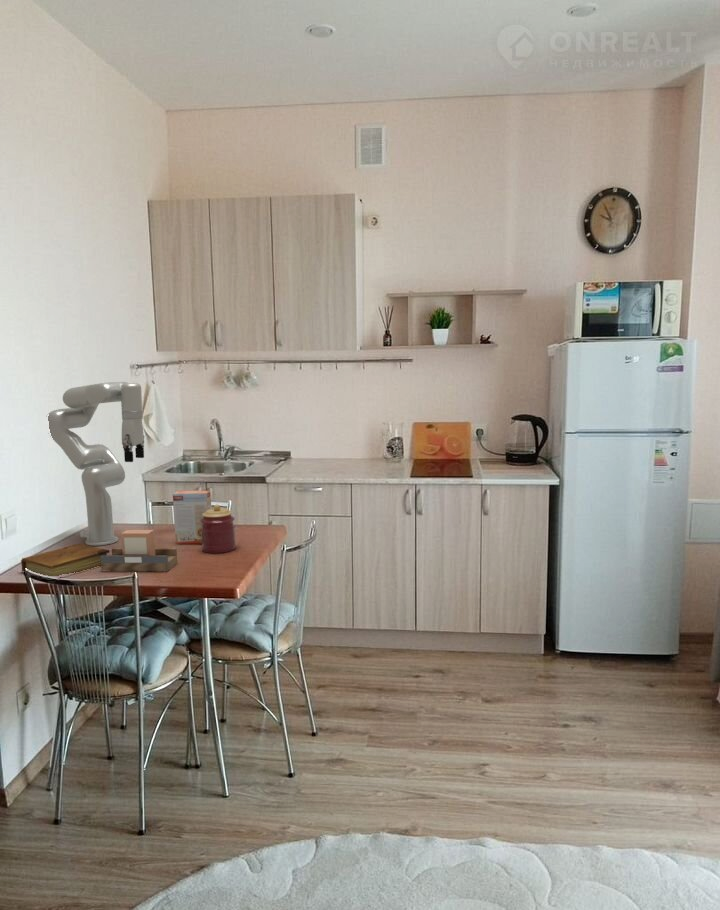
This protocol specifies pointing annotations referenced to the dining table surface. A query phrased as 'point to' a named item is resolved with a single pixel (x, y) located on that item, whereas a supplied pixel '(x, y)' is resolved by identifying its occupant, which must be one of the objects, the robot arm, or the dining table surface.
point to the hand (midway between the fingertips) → (134, 459)
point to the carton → (138, 542)
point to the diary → (65, 560)
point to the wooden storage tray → (140, 561)
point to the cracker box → (190, 515)
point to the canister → (218, 530)
